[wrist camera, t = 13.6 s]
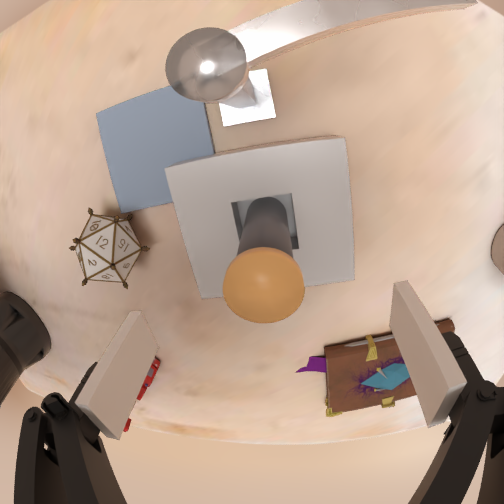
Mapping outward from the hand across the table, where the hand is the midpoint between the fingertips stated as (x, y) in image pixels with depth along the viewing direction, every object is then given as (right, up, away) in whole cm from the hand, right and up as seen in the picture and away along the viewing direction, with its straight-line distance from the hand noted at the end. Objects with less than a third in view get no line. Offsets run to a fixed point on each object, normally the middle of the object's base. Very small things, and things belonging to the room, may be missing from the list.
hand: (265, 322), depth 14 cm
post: (-1, +18, +11) cm, 21 cm away
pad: (-11, +14, +13) cm, 22 cm away
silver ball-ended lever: (+3, +14, -5) cm, 15 cm away
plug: (+1, +7, +15) cm, 17 cm away
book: (+18, -15, +26) cm, 35 cm away
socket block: (+1, +8, +16) cm, 18 cm away
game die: (-16, +6, +18) cm, 25 cm away
